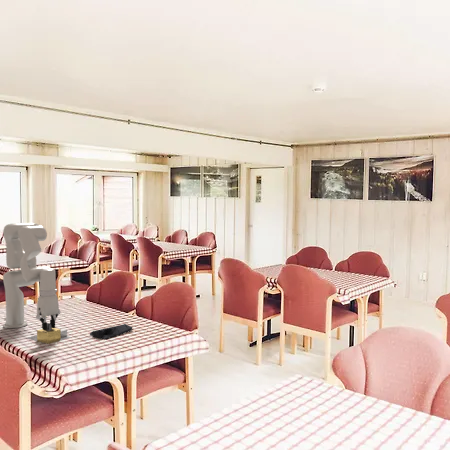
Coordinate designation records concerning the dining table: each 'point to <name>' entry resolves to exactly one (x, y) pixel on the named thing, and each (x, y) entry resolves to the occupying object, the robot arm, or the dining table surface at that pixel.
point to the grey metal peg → (49, 326)
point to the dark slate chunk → (111, 331)
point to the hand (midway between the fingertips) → (48, 328)
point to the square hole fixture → (50, 335)
